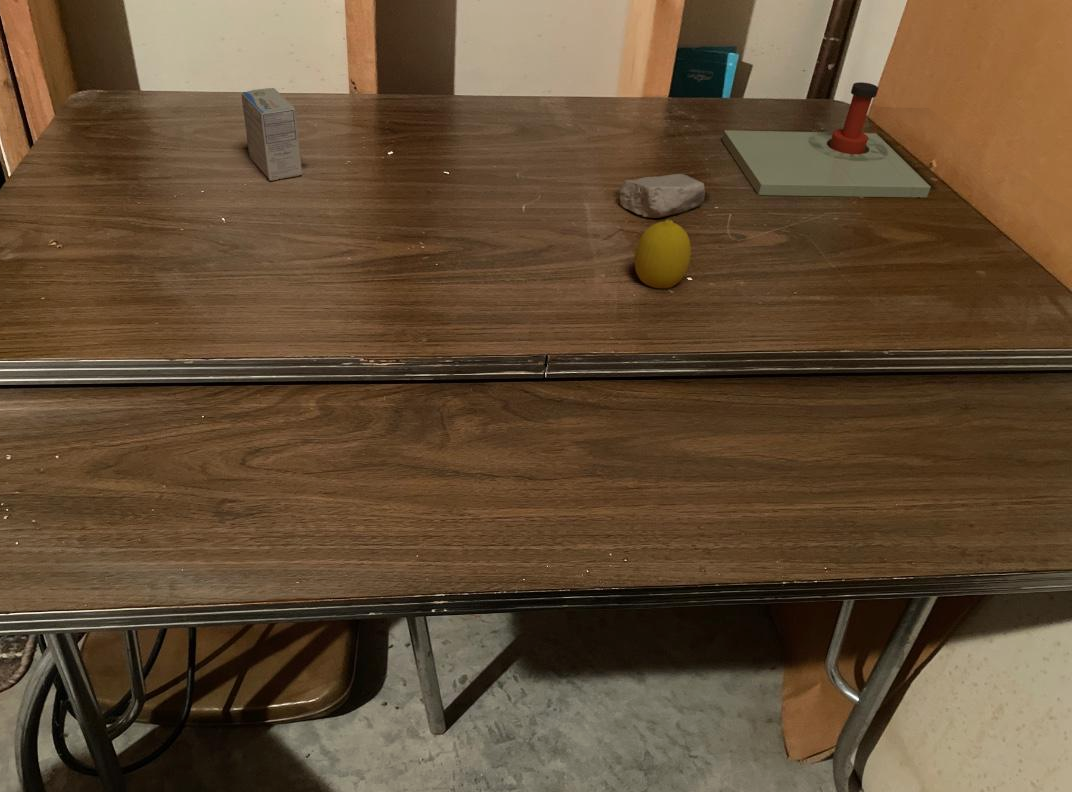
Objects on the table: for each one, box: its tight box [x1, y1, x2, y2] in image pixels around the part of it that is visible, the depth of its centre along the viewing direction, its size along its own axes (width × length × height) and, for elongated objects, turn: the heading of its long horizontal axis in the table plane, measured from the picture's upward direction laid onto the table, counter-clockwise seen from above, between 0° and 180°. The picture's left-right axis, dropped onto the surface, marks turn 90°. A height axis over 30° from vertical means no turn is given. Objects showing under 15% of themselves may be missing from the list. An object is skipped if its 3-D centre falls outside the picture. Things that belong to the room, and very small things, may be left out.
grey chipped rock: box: [619, 173, 706, 219], centre depth 110 cm, size 10×6×6 cm, turn 109°
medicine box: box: [241, 87, 303, 182], centre depth 113 cm, size 8×4×9 cm, turn 28°
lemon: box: [634, 219, 692, 290], centre depth 93 cm, size 6×6×8 cm
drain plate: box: [721, 129, 932, 199], centre depth 122 cm, size 22×18×2 cm
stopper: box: [829, 81, 879, 154], centre depth 123 cm, size 5×5×10 cm
